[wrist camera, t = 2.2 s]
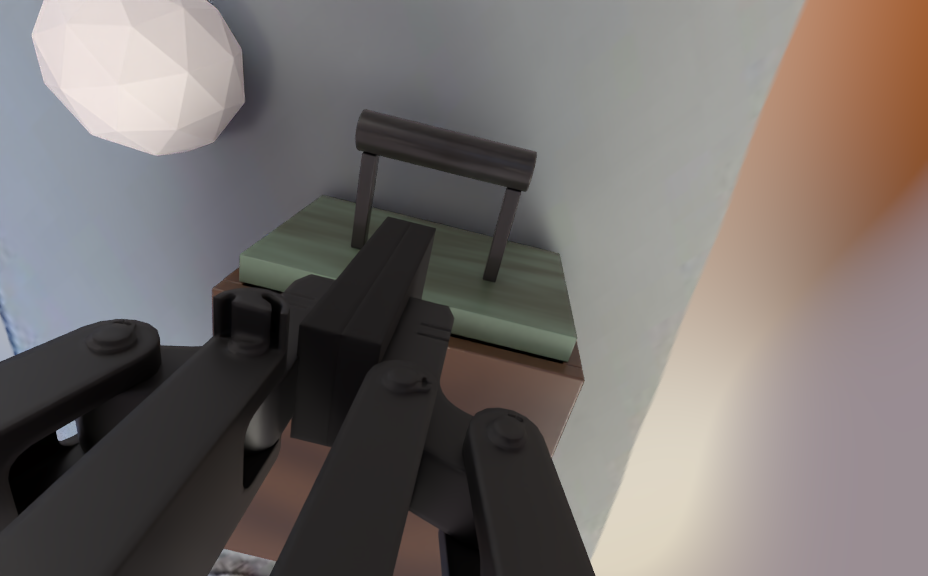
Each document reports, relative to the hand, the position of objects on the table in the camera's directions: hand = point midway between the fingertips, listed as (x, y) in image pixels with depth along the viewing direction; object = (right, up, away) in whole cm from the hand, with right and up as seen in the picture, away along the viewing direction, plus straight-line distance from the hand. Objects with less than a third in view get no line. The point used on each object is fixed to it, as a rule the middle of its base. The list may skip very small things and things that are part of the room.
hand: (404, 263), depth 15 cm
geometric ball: (-12, +11, +10) cm, 19 cm away
